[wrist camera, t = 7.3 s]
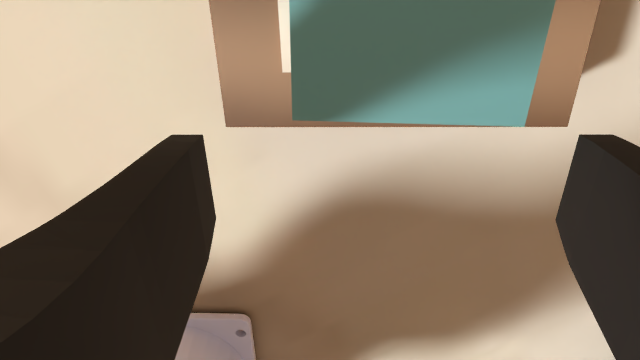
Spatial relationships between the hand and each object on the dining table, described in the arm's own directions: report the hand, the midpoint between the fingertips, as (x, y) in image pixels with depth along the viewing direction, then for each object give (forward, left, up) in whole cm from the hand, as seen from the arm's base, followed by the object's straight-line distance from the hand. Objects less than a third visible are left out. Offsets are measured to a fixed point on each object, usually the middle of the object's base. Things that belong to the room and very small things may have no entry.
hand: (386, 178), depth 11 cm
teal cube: (+3, -1, -7) cm, 7 cm away
